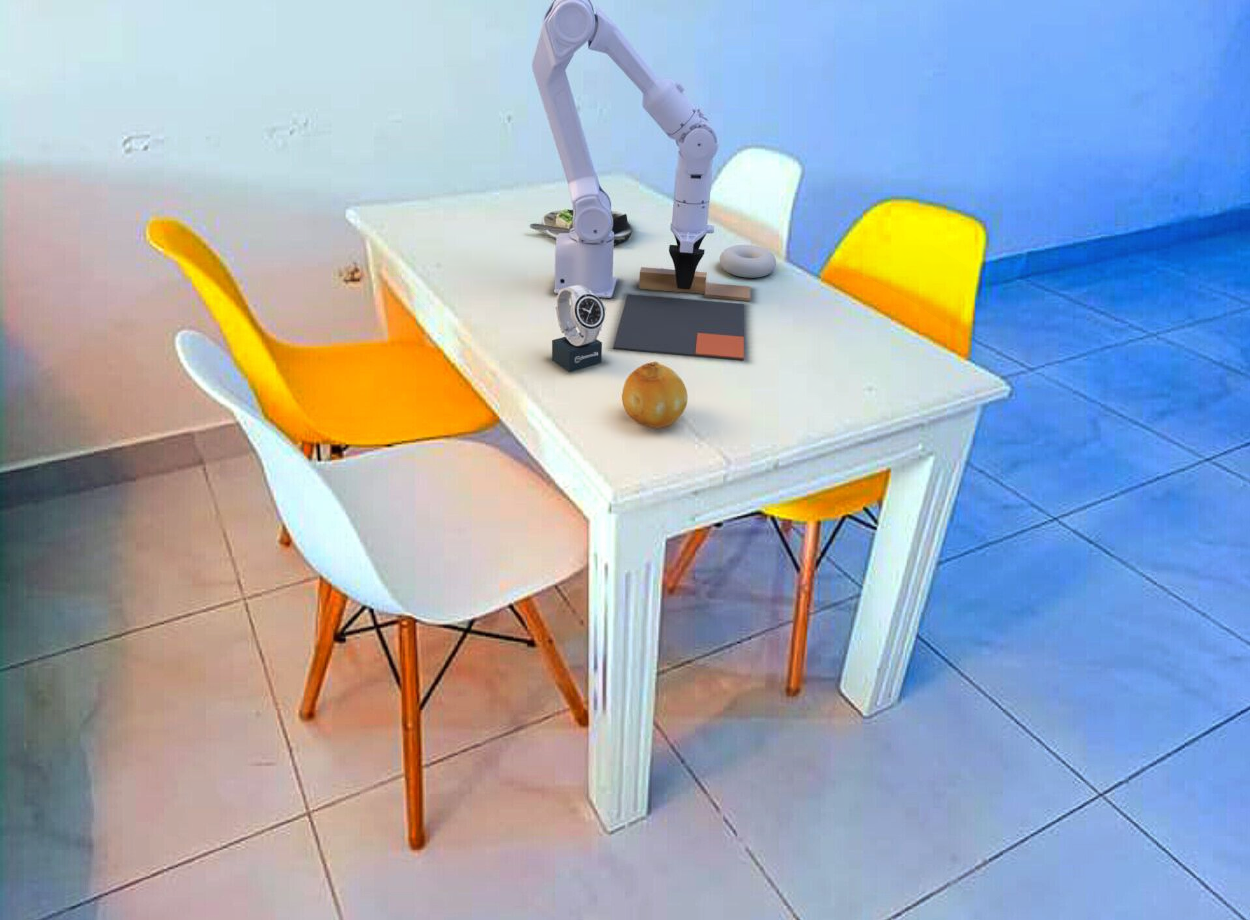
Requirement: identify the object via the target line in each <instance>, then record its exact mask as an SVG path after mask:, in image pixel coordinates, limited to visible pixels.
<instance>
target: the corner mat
mask: <svg viewBox="0 0 1250 920" xmlns="http://www.w3.org/2000/svg"><path fill="white" fill-rule="evenodd" d="M744 321H745V304H744V303H737V302H734V303H733V302H724V301H713V300H703V299H702V300H701V299H691V298H689V299H688V298H676V297H667V296H665V297H664V296H653V295H641V294H632V293H631V294H630V293H629V294H627V296H626V300H625V304H624V307H623V311H622V315H621V318H620V321H619V324H618V329H617V333H616V336H615V340H614V343H613V347H612V349H613V350H622V351H633V352H644V353H656V354H666V355H675V356H677V355H678V356H687V357H688V356H689V357H700V358H701V357H702V358H711V359H721V360H722V359H724V360H734V361H744V359H745V336H744V335H745V322H744Z"/></svg>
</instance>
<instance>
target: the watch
mask: <svg viewBox="0 0 1250 920" xmlns="http://www.w3.org/2000/svg"><path fill="white" fill-rule="evenodd" d="M571 293H572V294H571ZM570 294H571V295H570ZM555 302H556V306H555V312H556V317H557V321H558V326H559V328H560V331H561V333H562V334H563V335H564V336H562V337H559V338H555V339H552V340H551V360H552V362H554V363H555V364H557V365H558V366H559V367H561V368H562V369H564V370H565V371H567V372H568V373H571V372H574V371H578V370H581V369H584V368H588V367H592V366H595V365H597V364H602V361H603V360H602V359H603V357H602V355H603V342H602V341H601V340H600V339H598V337H599V335H600V332H601V331H602V328H603V324H604V322H605V319H606V310H607V309H606V308H607V307H606V305H604V303H603V301H602V299H600V297H597V296H595V295H594V294H593V293H592V291H591V290H588V289H587V288H586V287H584V286H582V285H575V286H570V287H566V288H563V289H561V290H560V291H559V293H557V294H556V301H555ZM577 329H578V330H577Z"/></svg>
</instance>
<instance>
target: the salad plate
mask: <svg viewBox="0 0 1250 920" xmlns="http://www.w3.org/2000/svg"><path fill="white" fill-rule="evenodd" d="M611 215H612V218H613V228H612V231H613V232H614V245H619V244H622V243H625V242H626V241H628V240H629V239H630V237H631V235H632V234H633V227H632V225H631V224H630V223H629V222H630V221H629V220H628V215H627V213H621V212H619V211H617V210H612V209H611ZM529 228H530V229H532V230H535V231H539V232H541V233H543V234H545V235H547V236H548V237H550V238H553V239H555V240H557V236H558V234H560V233H570V229H572V228H573V208H572V209H563V210H561V209H560V210H554V211H550V212H548V213H546V214H545V215H544V216H543V217H542V224H541V223H530V224H529Z"/></svg>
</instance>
